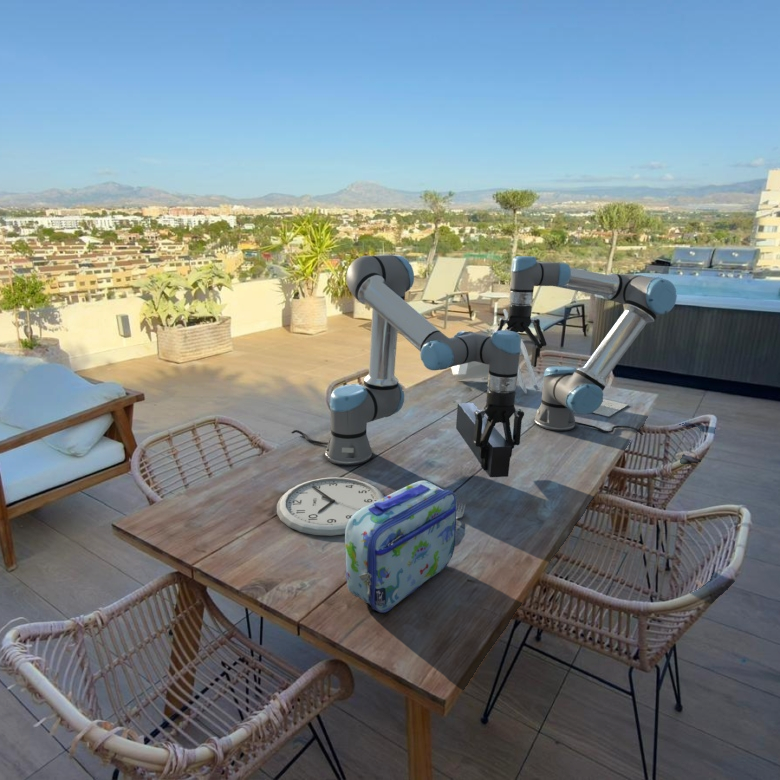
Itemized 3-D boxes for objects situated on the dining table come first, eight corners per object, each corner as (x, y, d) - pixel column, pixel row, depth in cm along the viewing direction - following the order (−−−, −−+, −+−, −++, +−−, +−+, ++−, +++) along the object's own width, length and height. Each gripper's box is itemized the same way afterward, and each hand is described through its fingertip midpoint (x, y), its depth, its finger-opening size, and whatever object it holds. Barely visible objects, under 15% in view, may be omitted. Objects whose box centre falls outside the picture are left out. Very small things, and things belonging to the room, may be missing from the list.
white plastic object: (472, 423, 260) (450, 400, 235) (454, 348, 282) (432, 320, 258) (544, 398, 248) (529, 371, 223) (519, 323, 270) (503, 291, 245)
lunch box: (374, 626, 100) (375, 530, 93) (338, 598, 107) (337, 508, 101) (459, 568, 117) (465, 484, 111) (424, 547, 124) (427, 467, 118)
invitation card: (608, 416, 214) (573, 407, 224) (608, 416, 214) (573, 408, 224) (628, 404, 229) (594, 396, 238) (628, 405, 229) (594, 397, 238)
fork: (441, 539, 128) (441, 532, 127) (456, 508, 142) (456, 501, 141) (451, 541, 127) (452, 534, 126) (465, 510, 141) (466, 503, 141)
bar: (455, 428, 176) (457, 402, 173) (470, 427, 177) (472, 402, 174) (489, 477, 142) (492, 447, 140) (508, 476, 143) (511, 446, 140)
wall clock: (392, 527, 129) (268, 531, 127) (391, 533, 130) (269, 537, 127) (383, 473, 158) (282, 475, 155) (383, 478, 158) (282, 480, 156)
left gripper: (472, 394, 135) (466, 475, 142) (539, 393, 137) (530, 472, 145) (464, 385, 142) (458, 463, 149) (528, 384, 145) (519, 460, 152)
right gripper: (487, 306, 168) (483, 369, 174) (561, 305, 171) (553, 368, 178) (480, 302, 175) (476, 364, 181) (551, 302, 178) (544, 362, 185)
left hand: (493, 467), depth 147 cm, fingers closed on bar, 5 cm apart
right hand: (514, 366), depth 179 cm, fingers open, 13 cm apart
